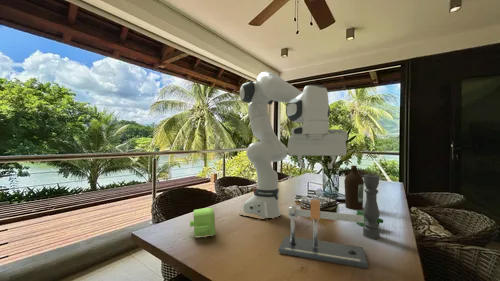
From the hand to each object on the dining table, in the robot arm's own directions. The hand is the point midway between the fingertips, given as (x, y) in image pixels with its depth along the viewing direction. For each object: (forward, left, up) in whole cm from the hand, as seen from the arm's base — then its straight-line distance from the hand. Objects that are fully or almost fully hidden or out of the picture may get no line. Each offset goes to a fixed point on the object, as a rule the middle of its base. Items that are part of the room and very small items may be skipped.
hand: (316, 168), depth 82 cm
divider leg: (0, 0, -28) cm, 28 cm away
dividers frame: (+3, +2, -28) cm, 28 cm away
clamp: (+22, +34, -30) cm, 50 cm away
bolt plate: (+2, 0, -30) cm, 30 cm away
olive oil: (+18, +65, -30) cm, 73 cm away
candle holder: (+21, +22, -30) cm, 42 cm away
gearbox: (-47, +1, -30) cm, 56 cm away
